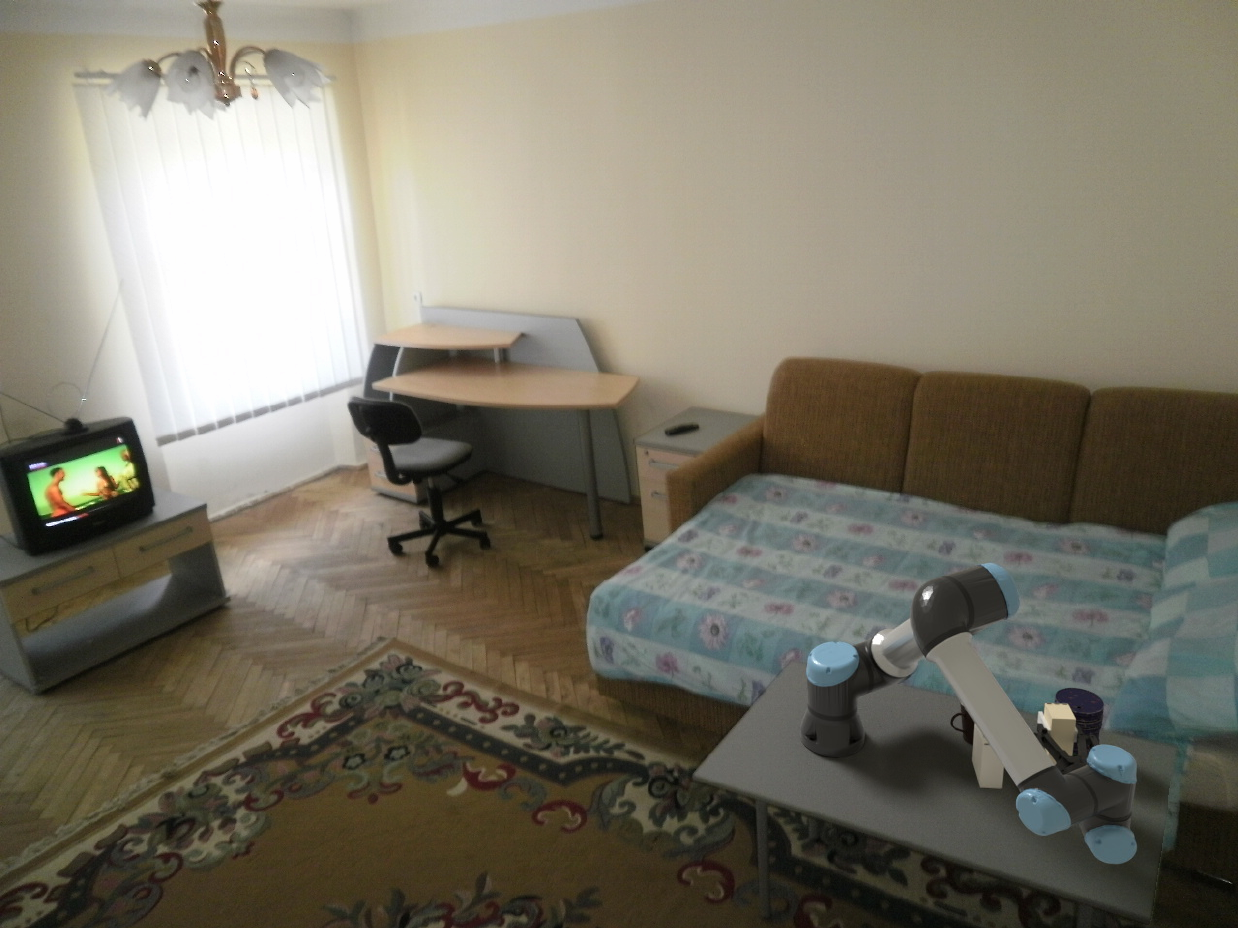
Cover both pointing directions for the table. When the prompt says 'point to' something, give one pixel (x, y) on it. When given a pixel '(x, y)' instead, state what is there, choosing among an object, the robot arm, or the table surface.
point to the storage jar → (1083, 711)
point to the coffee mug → (965, 725)
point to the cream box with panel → (986, 762)
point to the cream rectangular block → (1060, 726)
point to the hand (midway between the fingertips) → (1052, 717)
